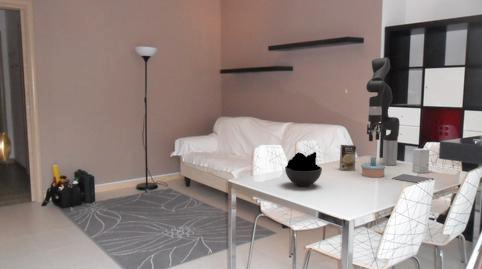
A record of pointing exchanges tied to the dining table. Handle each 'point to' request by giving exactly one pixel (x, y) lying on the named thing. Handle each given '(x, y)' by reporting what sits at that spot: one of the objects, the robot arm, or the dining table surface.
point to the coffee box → (347, 157)
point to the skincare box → (420, 160)
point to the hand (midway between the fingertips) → (374, 140)
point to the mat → (411, 178)
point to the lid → (373, 165)
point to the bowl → (372, 172)
